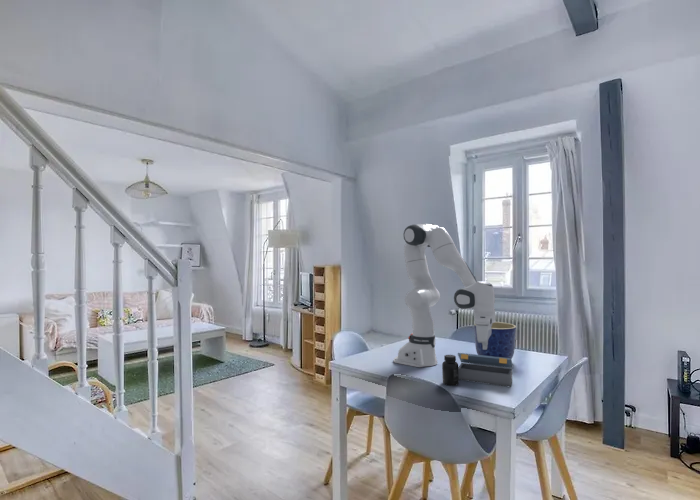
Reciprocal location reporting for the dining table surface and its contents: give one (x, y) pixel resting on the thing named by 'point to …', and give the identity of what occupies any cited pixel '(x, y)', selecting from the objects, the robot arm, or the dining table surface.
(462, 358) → the cover
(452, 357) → the supplement bottle
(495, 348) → the planter
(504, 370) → the grey rectangular open box
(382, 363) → the dining table surface
